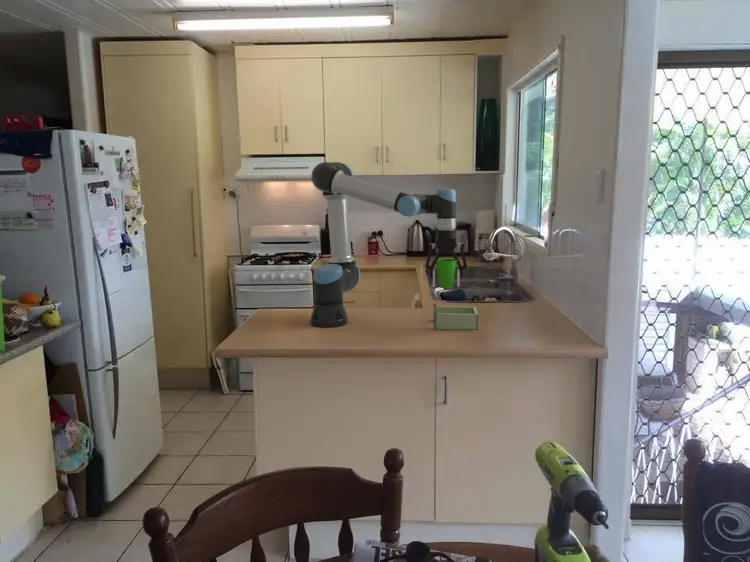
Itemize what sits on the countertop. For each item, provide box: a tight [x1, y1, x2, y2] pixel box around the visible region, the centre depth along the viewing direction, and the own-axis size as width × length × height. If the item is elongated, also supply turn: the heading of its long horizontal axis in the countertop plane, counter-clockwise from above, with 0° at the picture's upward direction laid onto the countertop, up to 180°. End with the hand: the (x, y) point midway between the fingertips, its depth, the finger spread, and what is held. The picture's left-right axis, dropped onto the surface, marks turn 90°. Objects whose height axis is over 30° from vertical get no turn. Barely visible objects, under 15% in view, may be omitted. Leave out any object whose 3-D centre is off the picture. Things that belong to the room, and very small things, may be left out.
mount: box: [432, 303, 479, 331], centre depth 235 cm, size 17×14×7 cm
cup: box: [435, 257, 457, 289], centre depth 232 cm, size 9×9×11 cm
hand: (446, 286), depth 233 cm, fingers closed on cup, 9 cm apart
